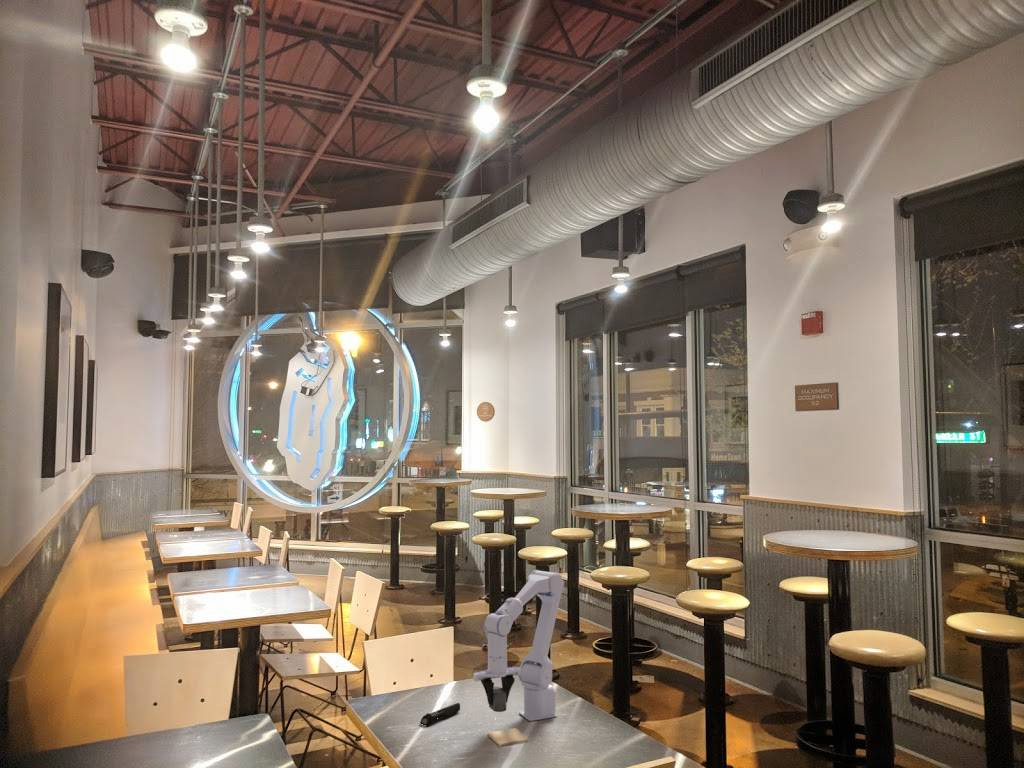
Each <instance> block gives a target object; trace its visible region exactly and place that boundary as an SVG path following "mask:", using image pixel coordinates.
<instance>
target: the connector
mask: <svg viewBox="0 0 1024 768" xmlns="http://www.w3.org/2000/svg"><path fill="white" fill-rule="evenodd" d="M488 707H489V709H491V710H492V711H493V712H497V713H500V712H501V713H502V712H505V711H507V703H506V691H505V690H504V689H503V688H502V686H494V687H493V705H490V704H489V703H488Z"/></svg>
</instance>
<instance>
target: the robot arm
mask: <svg viewBox="0 0 1024 768" xmlns="http://www.w3.org/2000/svg"><path fill="white" fill-rule="evenodd" d="M564 587H565V582H564V579H563V577H562V575H561V574H560V573H559V572H552V571H551V572H550V571H545V570H539V569H534V570H533V571H532V572H531V573H530V574H529V575H528V577H527V582H526V583H525V584H524V586H523V587H522V588H521V590H520V591H519V592H518V593H517V594H516V595H515V597H508V598H507V599H505V602H504V603H503V604H502V605H501V606H500V607H499V608H498V609H497V610H496V611H495V612H494V613H493V612H492V613H489V614H488V615H487V616H486V618H485V619H484V622H483V624H482V625H483V627H482V628H483V630H484V632H485V638H486V639H487V669H486V670H485V669H484V670H481V671H477V672H473V675H472V676H473V681H475V682H479V681H480V682H481V684H482V686H483V688H484V691H485V695H486V699H487V704H488V705H489V704H490V705H493V687H495V682H493V679H498V678H500V680H501V688H503V689H504V690H505V691H506V704H507V703H508V702H509V701H508V700H509V697H510V692H511V689H512V687H513V685H514V683H515V677H514V676H517V677H518V680H519V681H520V682H521V686H522V687H523V710H520V711H518V713H519V715H520V716H522V717H523V718H525V719H526V720H528V721H529V722H534V721H539V720H546V719H551V718H557V717H558V716H557V715H558V714H557V713H556V691H555V688H554V686H553V685H552V684H551V683H552V681H553V668H554V663H553V662H552V661H551V659H550V658H549V656H548V655H549V651H550V648H551V647H550V646H551V641H552V637H553V633H554V628H555V623H556V619H557V615H558V611H559V607H560V601H561V600H562V599H561V598H562V595H563V590H564ZM534 596H537V597H538V598H539V599H540V600H541V608H540V612H539V616H538V620H537V625H536V628H535V633H534V638H533V642H532V646H531V650H530V652H529V653H527V654H526V655H524V656H523V657H522V662H521V664H520V666H515V667H514V666H513V667H508V634H509V633H511V629H512V625H513V624H514V622H515V620H517V618H518V617H520V615H521V614H522V613H523V611H524V607H523V606H524V605H525V604H527V603H528V602H529V601H530V600H531V599H532V598H533V597H534Z"/></svg>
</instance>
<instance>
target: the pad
mask: <svg viewBox="0 0 1024 768" xmlns="http://www.w3.org/2000/svg"><path fill="white" fill-rule="evenodd" d="M487 736H488V737H489V738H490V737H491V738H492V739H493V740H494V741H495V742H496V743H497V744H498V745H497V744H496V743H495V742H494V741H493V740H492V739H491V738H490V739H491V740H492V741H493V742H494V743H495V744H496V745H497V746H498V747H503V746H502V745H505V746H509V745H514V744H520V743H519V742H521V743H525V742H524V741H526V742H529V738H528V737H527V736H526V735H525V734H524V733H522V732H521V731H520V730H519V729H518V728H517V727H513V728H509V729H504V730H497V731H492V732H491V731H490V732H487Z"/></svg>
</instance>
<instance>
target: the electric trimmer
mask: <svg viewBox="0 0 1024 768" xmlns="http://www.w3.org/2000/svg"><path fill="white" fill-rule="evenodd" d="M460 710H461V703H460V702H456V703H454V704H451V705H449V706H446V707H443V708H441V709H438V710H436V711H433V712H430V713H429V712H428V713H426V714H425V715H423V716H422V717H421V720H420V722H419V723H420V725H421V724H423V725H426V726H425V727H429V726H428V725H430V726H431V725H432V724H433V722H434V723H436V722H437V721H440V720H442V719H447V718H446V717H448V718H450V717H452V716H453V715H455V714H456V713H459V711H460ZM437 718H438V719H437ZM423 725H422V726H423Z"/></svg>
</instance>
